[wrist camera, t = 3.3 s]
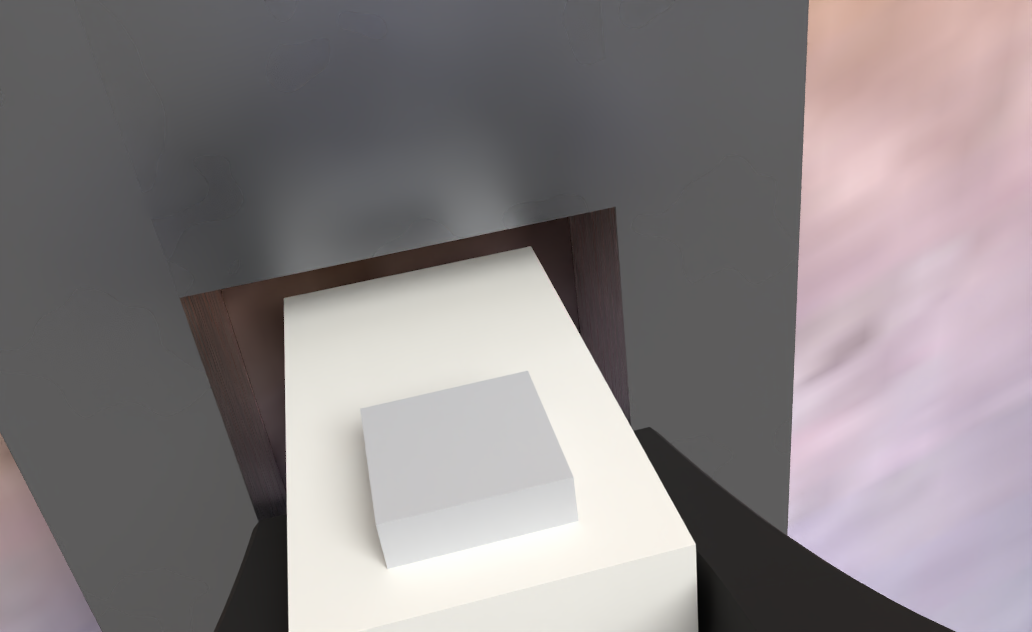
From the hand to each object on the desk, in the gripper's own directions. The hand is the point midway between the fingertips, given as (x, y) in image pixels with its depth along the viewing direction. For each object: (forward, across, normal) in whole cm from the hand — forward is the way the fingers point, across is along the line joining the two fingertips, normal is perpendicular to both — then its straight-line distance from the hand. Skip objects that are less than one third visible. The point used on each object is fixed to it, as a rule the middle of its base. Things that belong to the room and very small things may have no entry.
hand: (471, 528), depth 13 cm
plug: (+4, 0, 0) cm, 4 cm away
